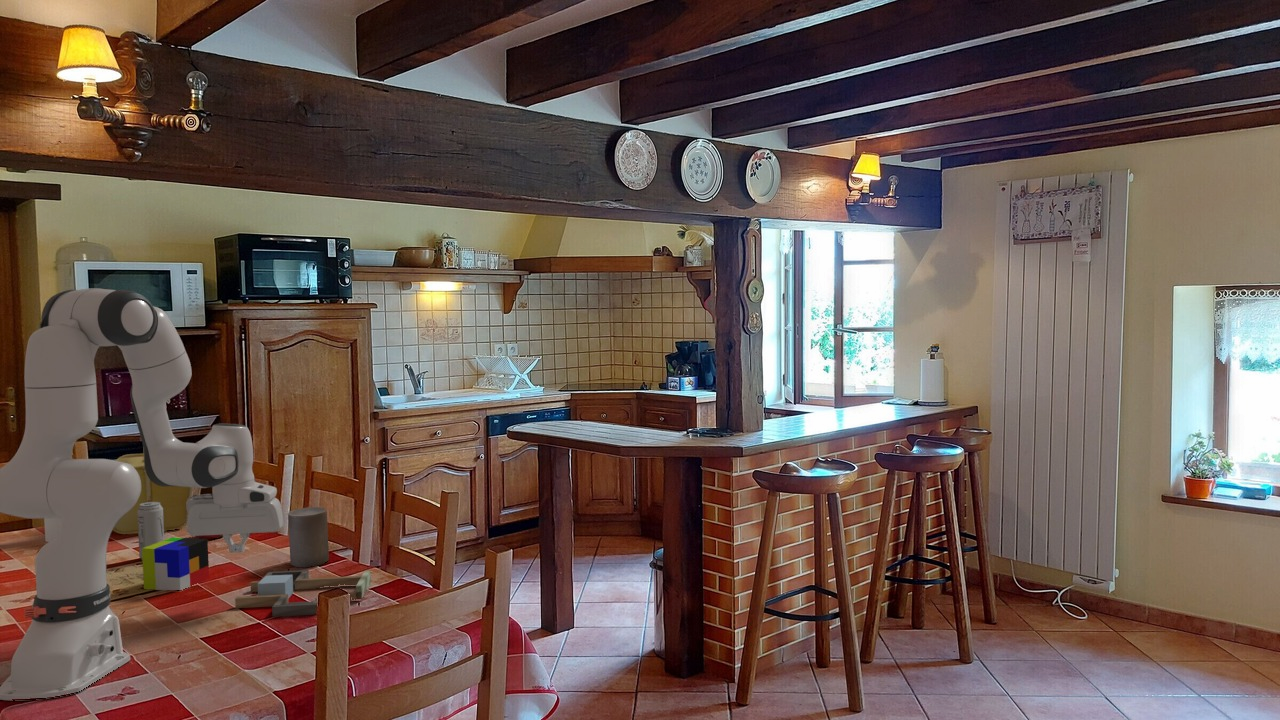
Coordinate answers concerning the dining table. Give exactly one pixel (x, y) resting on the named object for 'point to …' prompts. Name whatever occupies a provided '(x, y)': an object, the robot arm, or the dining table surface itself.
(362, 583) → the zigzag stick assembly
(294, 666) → the dining table surface
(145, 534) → the energy drink can
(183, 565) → the puzzle toy
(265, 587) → the block
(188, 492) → the picnic basket
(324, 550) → the pillar candle
